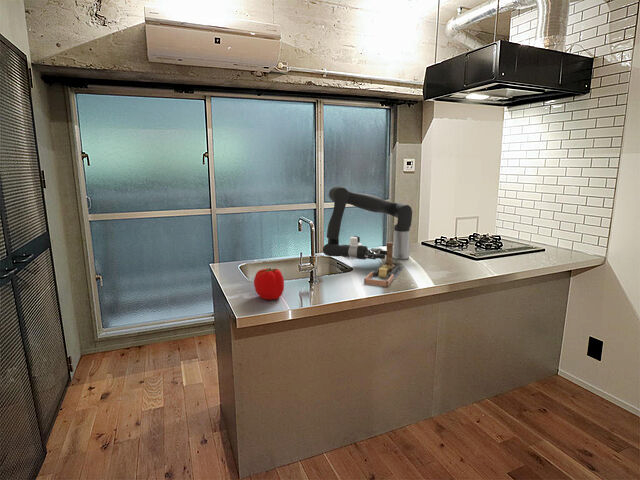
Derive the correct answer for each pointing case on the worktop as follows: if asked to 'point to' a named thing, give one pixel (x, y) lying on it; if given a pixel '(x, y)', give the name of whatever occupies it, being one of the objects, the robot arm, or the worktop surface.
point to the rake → (389, 255)
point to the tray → (377, 282)
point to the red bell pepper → (269, 283)
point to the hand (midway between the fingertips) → (386, 255)
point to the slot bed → (395, 271)
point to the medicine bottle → (355, 241)
